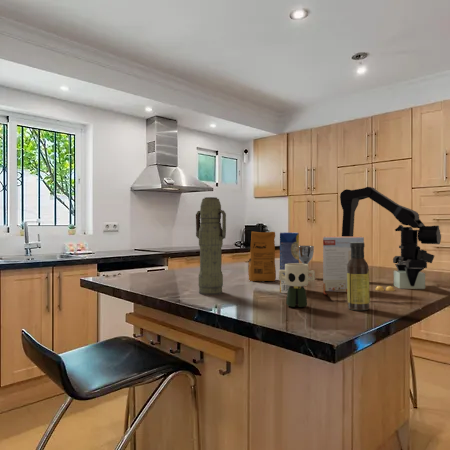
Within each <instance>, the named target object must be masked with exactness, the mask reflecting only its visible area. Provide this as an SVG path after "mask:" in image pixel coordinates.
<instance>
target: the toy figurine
mask: <svg viewBox="0 0 450 450" xmlns="http://www.w3.org/2000/svg"><path fill="white" fill-rule="evenodd" d="M282 273H285V277H282ZM309 275H311V277H312V278H309V277H310V276H309ZM278 280H279V281H280V280H284V281H285V283H286V284H287V285H289V286H290V287H289V288H288V293H286V302H285V303H286V305H287V306H288V307H291V308H292V307H293V308H294V307H296V306H298V308H304V307H307V306H308V300H307V293H306V288H305V286H308V285H309V282H315V280H316V271H315V270H310V269H309V263H308V264H303V263H302V262H301V263H300V262H299V263H289V264H285V270H280V269H279V270H278Z"/></svg>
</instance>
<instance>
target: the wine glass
mask: <svg viewBox="0 0 450 450" xmlns="http://www.w3.org/2000/svg"><path fill="white" fill-rule="evenodd" d="M314 250H315V246H314V245H299V262H301V263H302V264H308V265H309V263H310V261H311V260H312V259H313V257H314V252H315V251H314ZM309 278H312V276H309Z"/></svg>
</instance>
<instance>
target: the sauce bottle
mask: <svg viewBox="0 0 450 450" xmlns="http://www.w3.org/2000/svg"><path fill="white" fill-rule="evenodd" d="M350 247H351V259H350V260H349V262H348V264H347V292H346V293H347V294H346V295H347V296H346V297H347V308H348V309H349V310H351V311H357V312H358V311H368V310H369V309H370V303H371V302H370V269H369V264H368V261H366V259H365V247H366V245H365V242H364V243H363V242H351V243H350Z"/></svg>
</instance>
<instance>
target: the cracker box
mask: <svg viewBox="0 0 450 450" xmlns="http://www.w3.org/2000/svg"><path fill="white" fill-rule="evenodd" d="M351 242H363V243H364V244H365V238H364V236H353V237H344V236H342V235H341V236H338V235H337V236H332V235H331V236H323V237H322V247H323V248H322V274H323V275H322V276H323V277H322V281H323V282H322V283H323V284H322V287H323V288H322V289H323V291H322V292H323V295H326V296H327V295H329V294H328V293H327V292H341V293H342V292H343V293H344V292H345V293H347V264H348V262H349V260H350V259H351V247H350V243H351Z"/></svg>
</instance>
